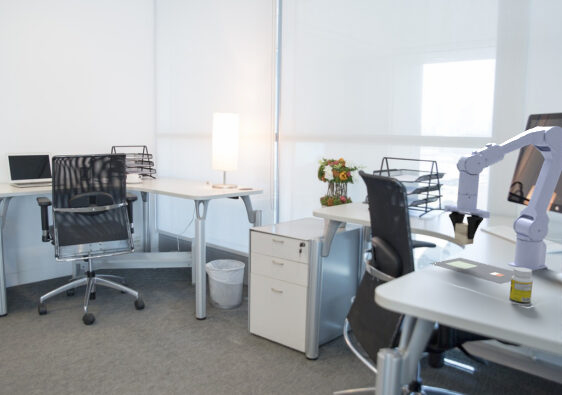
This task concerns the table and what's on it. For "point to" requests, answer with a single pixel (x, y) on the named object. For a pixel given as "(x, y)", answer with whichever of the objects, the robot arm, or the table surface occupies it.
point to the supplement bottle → (521, 286)
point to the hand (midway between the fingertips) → (464, 237)
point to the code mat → (477, 269)
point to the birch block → (462, 234)
